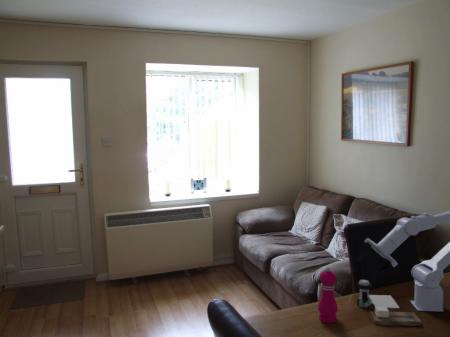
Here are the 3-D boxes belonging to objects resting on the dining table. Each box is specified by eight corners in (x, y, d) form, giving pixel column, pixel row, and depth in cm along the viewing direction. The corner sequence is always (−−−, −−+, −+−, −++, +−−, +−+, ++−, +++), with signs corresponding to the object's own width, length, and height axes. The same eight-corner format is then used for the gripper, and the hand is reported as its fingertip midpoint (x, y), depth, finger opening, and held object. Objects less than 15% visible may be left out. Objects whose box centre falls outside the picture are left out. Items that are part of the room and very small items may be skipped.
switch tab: (386, 313, 140) (386, 307, 140) (388, 317, 137) (388, 310, 137) (374, 313, 141) (375, 306, 140) (377, 317, 138) (377, 310, 137)
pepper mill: (338, 315, 143) (338, 264, 141) (337, 325, 136) (337, 271, 134) (318, 313, 145) (318, 262, 143) (316, 322, 139) (316, 269, 137)
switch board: (413, 316, 141) (413, 312, 141) (421, 325, 134) (421, 321, 134) (369, 315, 143) (369, 310, 143) (374, 324, 136) (374, 320, 136)
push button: (368, 301, 154) (368, 277, 153) (377, 307, 149) (377, 282, 148) (354, 303, 153) (354, 279, 152) (362, 309, 147) (362, 284, 146)
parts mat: (390, 296, 158) (390, 295, 158) (399, 308, 147) (399, 307, 147) (368, 295, 159) (368, 294, 159) (375, 307, 148) (375, 307, 148)
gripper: (373, 226, 147) (348, 250, 147) (403, 250, 136) (376, 276, 136) (378, 234, 152) (353, 257, 152) (407, 257, 141) (381, 282, 141)
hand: (364, 266), depth 144 cm, fingers open, 7 cm apart
